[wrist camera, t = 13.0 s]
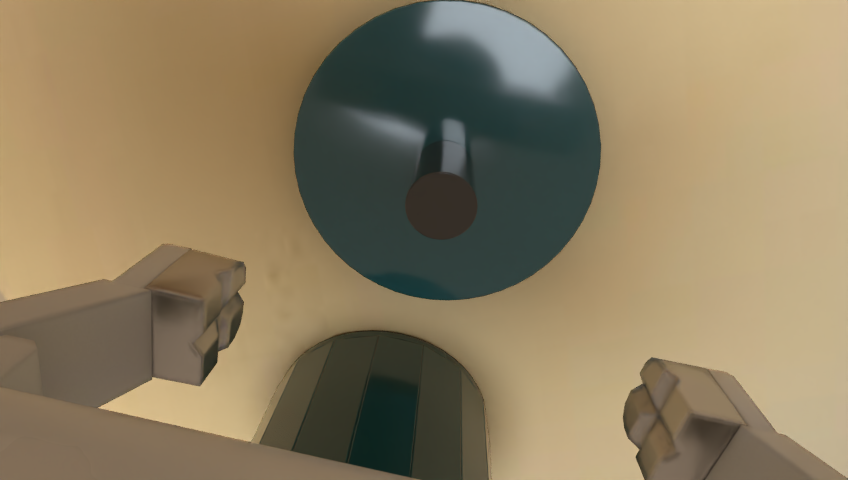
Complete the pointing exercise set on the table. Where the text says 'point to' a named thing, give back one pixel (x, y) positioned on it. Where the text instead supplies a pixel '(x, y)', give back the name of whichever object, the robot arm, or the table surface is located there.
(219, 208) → the table surface
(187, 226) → the table surface
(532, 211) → the lid
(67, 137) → the table surface
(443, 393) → the pot
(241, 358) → the table surface
